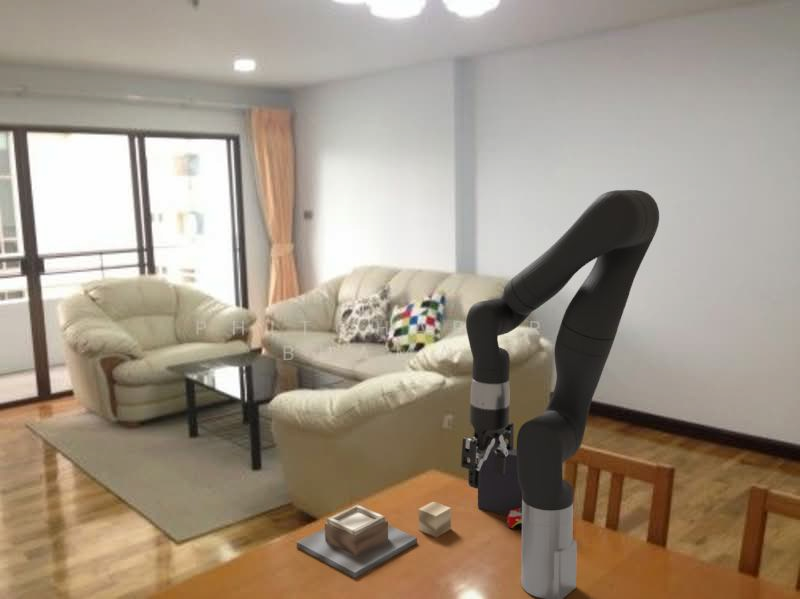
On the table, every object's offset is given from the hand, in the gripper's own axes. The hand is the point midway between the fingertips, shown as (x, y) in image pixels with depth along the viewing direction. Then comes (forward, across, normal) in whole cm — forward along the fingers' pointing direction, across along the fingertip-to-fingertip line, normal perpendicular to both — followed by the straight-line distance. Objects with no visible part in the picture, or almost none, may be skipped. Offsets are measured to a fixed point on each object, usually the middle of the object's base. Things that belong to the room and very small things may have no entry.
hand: (487, 479), depth 137 cm
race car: (+18, +19, 0) cm, 26 cm away
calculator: (+18, +20, +10) cm, 29 cm away
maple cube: (+18, +3, +16) cm, 24 cm away
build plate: (+18, -12, +24) cm, 33 cm away
